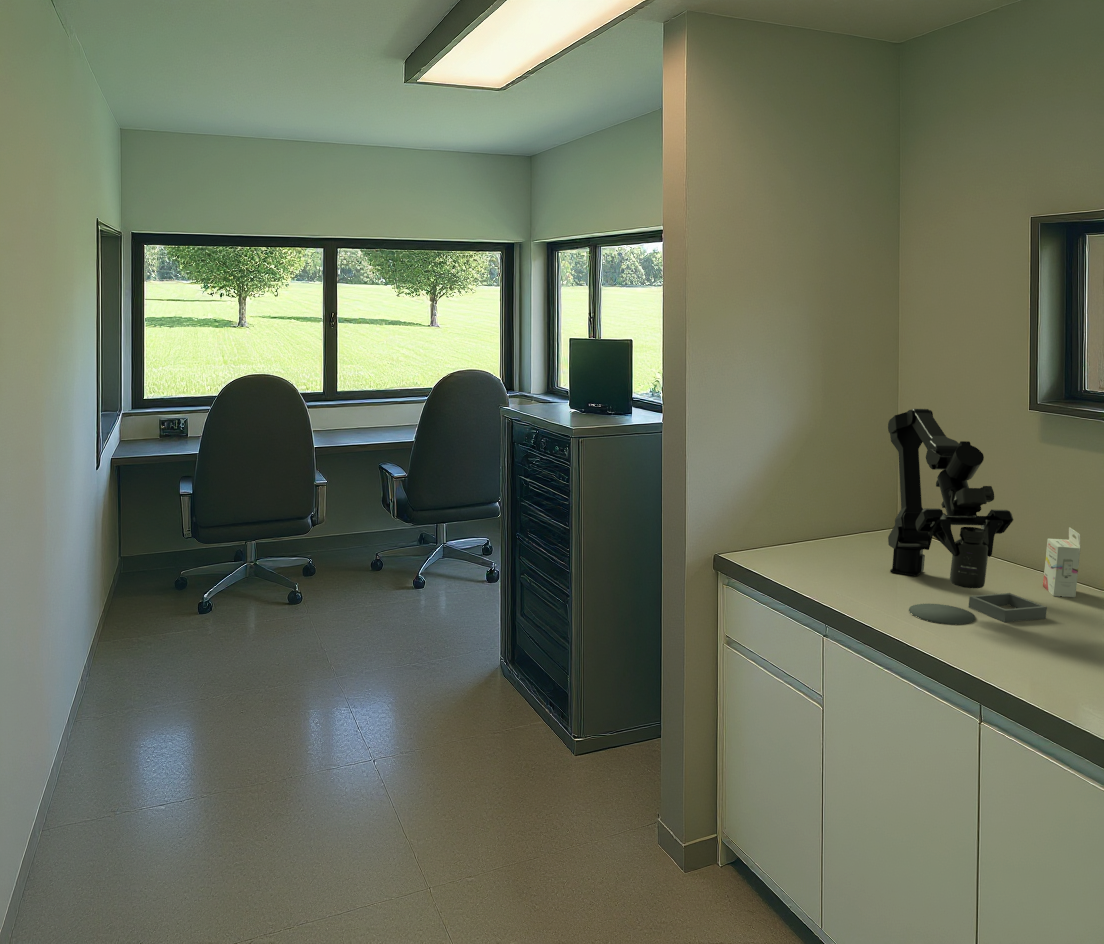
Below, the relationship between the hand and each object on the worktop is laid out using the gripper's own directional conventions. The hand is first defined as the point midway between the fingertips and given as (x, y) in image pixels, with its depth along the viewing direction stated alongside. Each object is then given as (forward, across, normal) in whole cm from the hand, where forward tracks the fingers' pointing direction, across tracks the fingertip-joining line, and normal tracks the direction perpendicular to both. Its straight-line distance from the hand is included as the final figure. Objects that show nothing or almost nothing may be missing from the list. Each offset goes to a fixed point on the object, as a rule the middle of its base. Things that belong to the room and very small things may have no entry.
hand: (973, 555), depth 197 cm
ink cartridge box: (-4, +30, +24) cm, 38 cm away
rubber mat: (+9, -5, +10) cm, 14 cm away
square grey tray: (+7, +10, +12) cm, 17 cm away
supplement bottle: (+4, 0, +6) cm, 7 cm away
